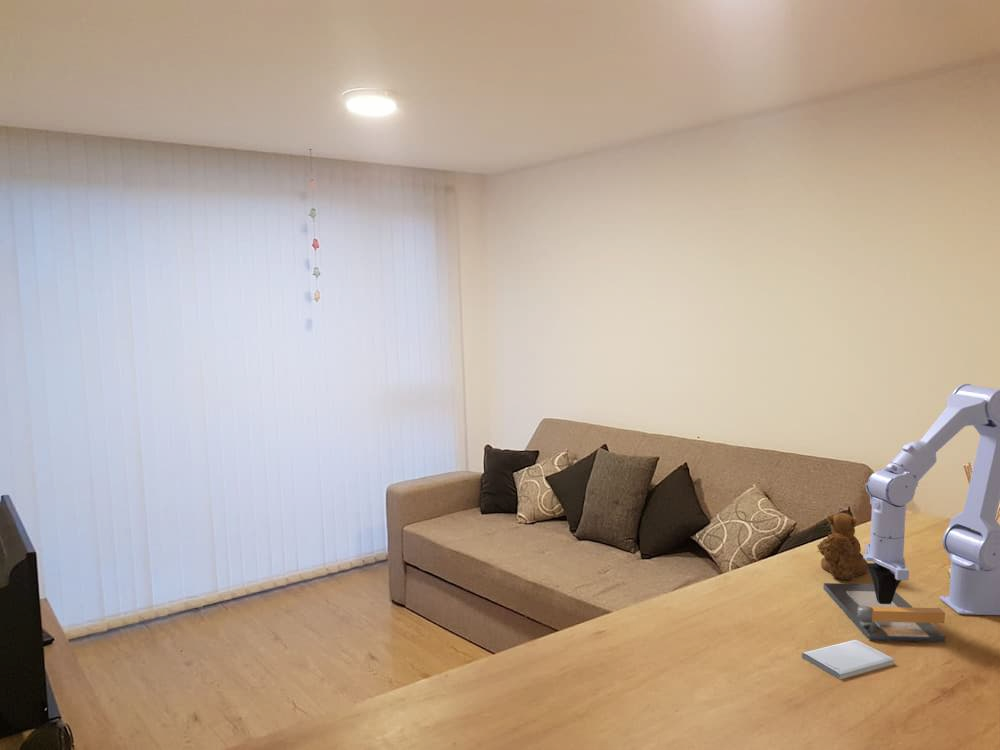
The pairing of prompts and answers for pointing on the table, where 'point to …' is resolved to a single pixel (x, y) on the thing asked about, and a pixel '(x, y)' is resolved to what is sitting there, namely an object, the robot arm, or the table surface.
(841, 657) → the hard drive
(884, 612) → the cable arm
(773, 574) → the table surface
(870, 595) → the psu panel
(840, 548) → the stuffed squirrel
